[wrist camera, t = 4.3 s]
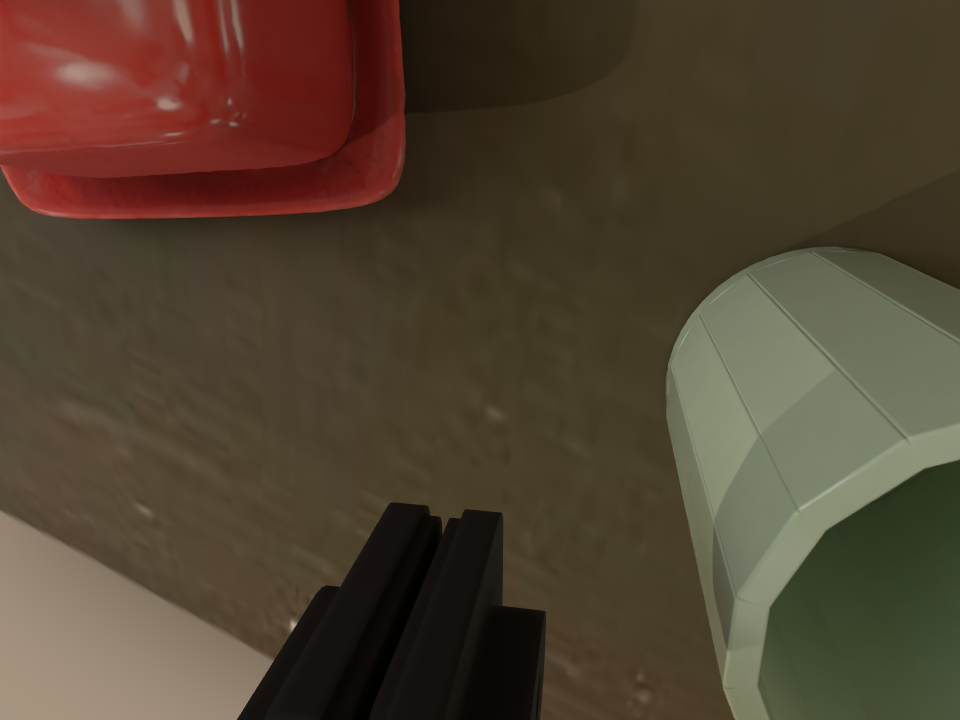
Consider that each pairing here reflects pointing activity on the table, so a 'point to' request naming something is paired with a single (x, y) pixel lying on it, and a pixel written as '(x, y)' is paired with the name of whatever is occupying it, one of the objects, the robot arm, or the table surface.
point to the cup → (825, 484)
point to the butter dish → (200, 106)
